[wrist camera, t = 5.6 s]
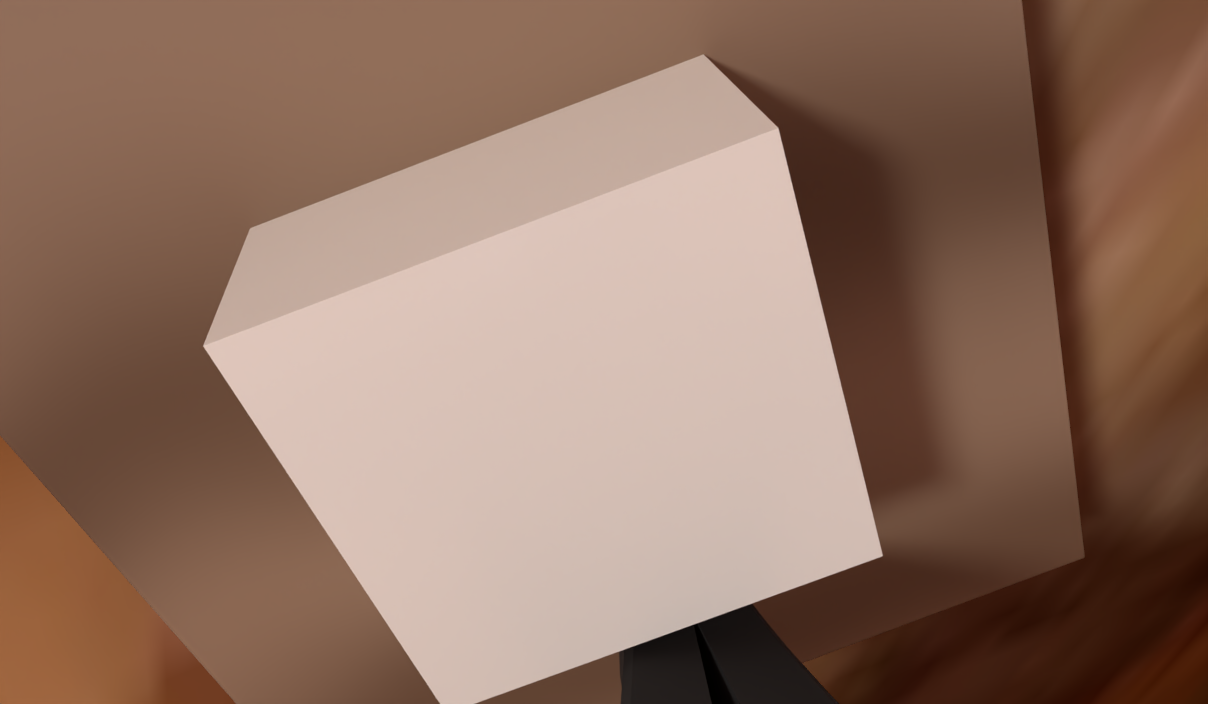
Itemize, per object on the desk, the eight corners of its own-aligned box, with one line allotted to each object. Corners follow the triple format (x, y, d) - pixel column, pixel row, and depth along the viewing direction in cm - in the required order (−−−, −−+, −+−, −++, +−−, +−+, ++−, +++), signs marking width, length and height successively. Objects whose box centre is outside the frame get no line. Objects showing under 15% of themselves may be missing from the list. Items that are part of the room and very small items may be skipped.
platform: (1015, 476, 16) (1084, 557, 15) (357, 726, 17) (349, 831, 15) (844, -608, 9) (942, -699, 7) (-303, -113, 10) (-460, -89, 8)
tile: (805, 425, 13) (883, 556, 10) (442, 557, 13) (446, 713, 11) (703, 53, 10) (778, 128, 8) (250, 227, 10) (203, 345, 8)
